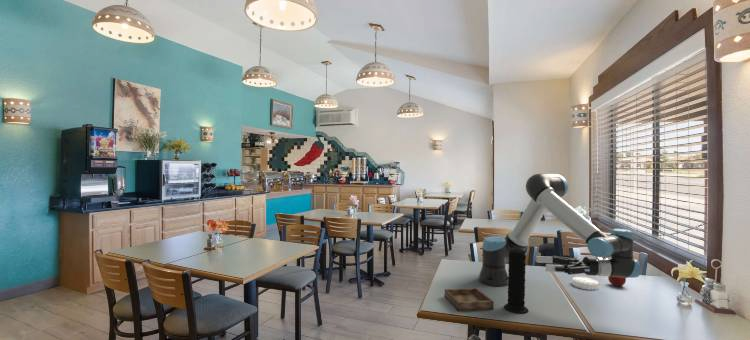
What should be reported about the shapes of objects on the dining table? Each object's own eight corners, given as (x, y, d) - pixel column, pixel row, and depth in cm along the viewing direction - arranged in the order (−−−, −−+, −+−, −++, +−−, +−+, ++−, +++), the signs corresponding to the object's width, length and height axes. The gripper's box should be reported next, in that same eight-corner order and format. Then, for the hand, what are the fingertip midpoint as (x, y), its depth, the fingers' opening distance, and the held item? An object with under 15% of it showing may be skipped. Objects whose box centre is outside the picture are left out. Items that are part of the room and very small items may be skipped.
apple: (610, 287, 178) (610, 271, 178) (606, 282, 185) (606, 267, 185) (627, 289, 175) (627, 273, 175) (622, 284, 182) (623, 269, 182)
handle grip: (529, 315, 143) (527, 306, 152) (531, 252, 142) (528, 246, 152) (504, 311, 146) (503, 302, 155) (505, 249, 145) (504, 244, 155)
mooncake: (566, 284, 182) (566, 277, 182) (581, 281, 187) (581, 274, 187) (588, 291, 172) (588, 284, 171) (604, 288, 176) (604, 281, 176)
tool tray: (476, 295, 164) (476, 287, 164) (493, 309, 148) (493, 301, 148) (444, 296, 161) (444, 289, 161) (458, 311, 146) (458, 303, 146)
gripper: (583, 250, 155) (533, 248, 159) (610, 265, 131) (550, 262, 135) (583, 266, 155) (533, 264, 159) (610, 285, 131) (550, 281, 135)
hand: (541, 263), depth 147 cm, fingers open, 13 cm apart
